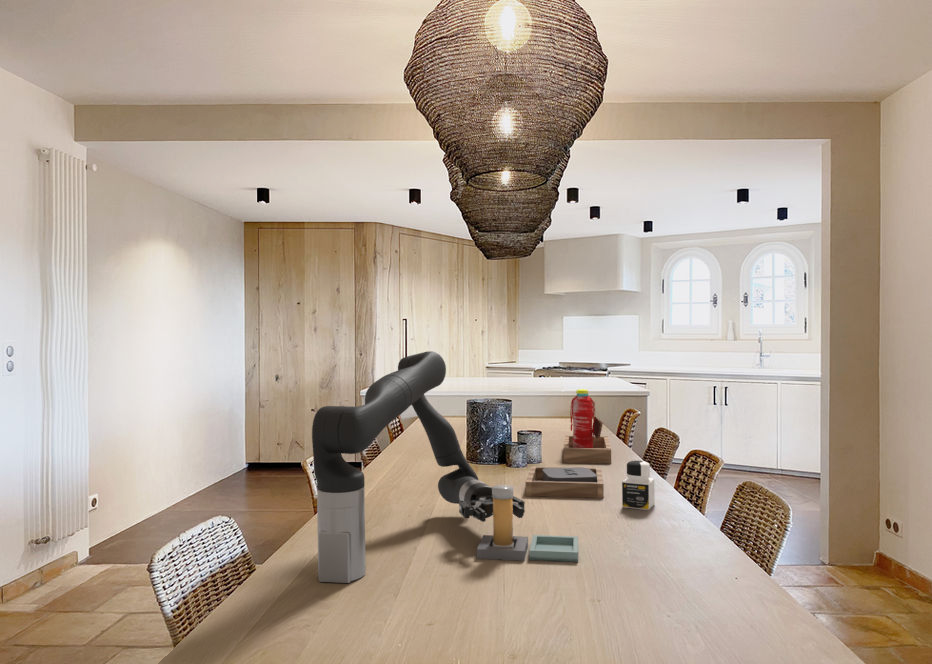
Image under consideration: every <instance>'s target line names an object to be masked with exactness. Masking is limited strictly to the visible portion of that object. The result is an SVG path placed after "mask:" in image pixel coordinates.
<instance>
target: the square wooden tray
mask: <svg viewBox="0 0 932 664" xmlns="http://www.w3.org/2000/svg"><path fill="white" fill-rule="evenodd" d="M545 468H568V466H567V467H563V466H562V467H559V466H531V467H530V469H529V472H528V474H527V478H526V480H525V496H526V497H530V496H531V497H556V498H557V497H558V498H559V497H563V498H564V497H566V498H592V499H593V498H597V499H598V498H599V499H600V498H602V499H604V497H605V496H604V494H605V491H604V479H603V471H602V468H601V467H600V468H599V467H587V468H588V469H590V470H591V471H592V472H594V473H595V474H596V475H597V482H563V481H543V469H545Z"/></svg>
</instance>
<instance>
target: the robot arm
mask: <svg viewBox="0 0 932 664" xmlns="http://www.w3.org/2000/svg"><path fill="white" fill-rule="evenodd" d="M445 362H446V361H445V360H444V359H443V357H442V356H441V355H440V354H439V353H437V352H436V351H431V350H430V351H429V350H428V351H424V352H419V353H416V354H412V355H411V354H410V355H408V356H404V357H403V358H401V359H400V360H399V362H398V365H397V370H395V371H393V372H390V373H387V374H386V375H384V376H382V377H380V378H379V379H378V380H376V381H375V382H373V383H372V384H371V385H370V386H369V387H368V389H367V390H366V392H365V396H364V404H363V405H359V406H358V405H357V406H349V405H347V406H344V405H340V406H339V405H325V406H322V407H320V408H318V410H317V411H316V412H315V415H314V418H313V420H312V427H311V442H312V443H311V444H312V454H313V455H312V457H313V472H314V473H313V474H314V477H315V481H316V488H317V489H316V492H317V493H316V496H317V497H316V499H317V500H316V501H317V503H316V507H317V510H316V511H317V513H316V514H317V570H318V571H317V575H318V576H317V577H318V582H319V583H320V582H321V583H341V584H349V583H352V582H353V581H356V580H358V579H359V580H360V578H362V577H364V576H365V575H366V570H367V569H366V516H365V515H366V514H365V501H366V500H365V496H366V495H365V483H366V482H365V474H364V472H363V471H362V470H361V469H359V468H357V467H355V466H353V465H351V464H349V462H347V461H346V460H345V459H344V458H343V455H342V454H347V455H354V454H355V455H356V454H360V453H362V452H364V451H365V450H366V449H368V448H369V447H370V446H371V444H372V443H373V442H374V440H376V438H378V436H379V435H380V434H381V432H382V431H383V430H384V429H385V428H386V427H387V426H388V425H390V424H391V423H392V422H393V421H394V420H395V419H397V418H398V417H399V416H401V415H402V414H403V413H404V412H405V411H407V410H408V409H409V408H410V407H411V406H412V408H413V410H414V412H415V414H416V415H417V417H418V420H419V421H420V423H421V425H422V427H423V428H424V432H425V433H426V436H427V438H428V441H429V444H430V447H431V450H432V452H433V455H434V459H435V461H436V464H437V465H438V466H439V467H446V468H447V467H452V466H458V469H455V470H453V471H451V472H448V473H446V474H444V475H442V476H441V477H440V478H439V480H438V483H437V489H438V493H439V494H440V496H441V497H442V499H443V500H445V501H446V502H448V503H451V504H456V505H457V504H458V512H459V514H460V515H461V516H462V517H463V518H464V519H466V520H467V519H470V517H472V518H473V519H476V520H478V521H480V522H481V523H484V522H486V519H488V518H491V517H493V497H492V487H493V486H490V485H488V484H487V483H485V482H484V481H481V480H479V477H478V474H477V473H476V472H475V471H474V469H473V468H472V467H471V465H470V463H469V462H468V461H467V459H466V457H465V455H464V453H463V451H462V449H461V446H460V442H459V440H458V437H457V434H456V432H455V429H454V428H453V425H451V423H450V422H449V421H448V420H447V418H445V417H444V416H443V415H442V414H440V413H439V412H438V411H437V410H436V409H435V408H434V406H433V405H432V404H431V403H430V402H429V401H428V399H427V397H426V396H425V394H426V393H428V392H429V391H431V390H433V389H435V388H436V387H439V386H440V385H442V383H444V380H445V378H446V376H447V375H446V374H447V365H446V363H445ZM512 501H513V515H514V516H515V517H517V518H518V519H523V516H524V515H525V503H526V502H525V501H524V500H523V499H520V498H518V497H517V496H515V495H513V498H512Z"/></svg>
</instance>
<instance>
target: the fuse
mask: <svg viewBox="0 0 932 664" xmlns="http://www.w3.org/2000/svg"><path fill="white" fill-rule="evenodd" d="M491 487H492V497H493V515H492V518H493V519H492V521H493V522H492V524H493V525H492V527H493V532H492V533H493V534H492V535H493V546H495V547H514V542H513V536H514V531H513V530H514V523H513V522H514V521H513V519H514V516H513V515H514V514H513V501H512V498H513V496H514V486H513V485H509V484H498V485H497V484H496V485H493V486H491Z"/></svg>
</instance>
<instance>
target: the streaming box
mask: <svg viewBox="0 0 932 664" xmlns="http://www.w3.org/2000/svg"><path fill="white" fill-rule="evenodd" d="M588 468H589V467H584V466H583V467H582V466H580V467H579V466H578V467H576V466H575V467H573V466H572V467H567V468H545V469H543V481H563V482H597V475H596V474H595V473H594V472H592V471H591V470H590V469H588Z"/></svg>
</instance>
